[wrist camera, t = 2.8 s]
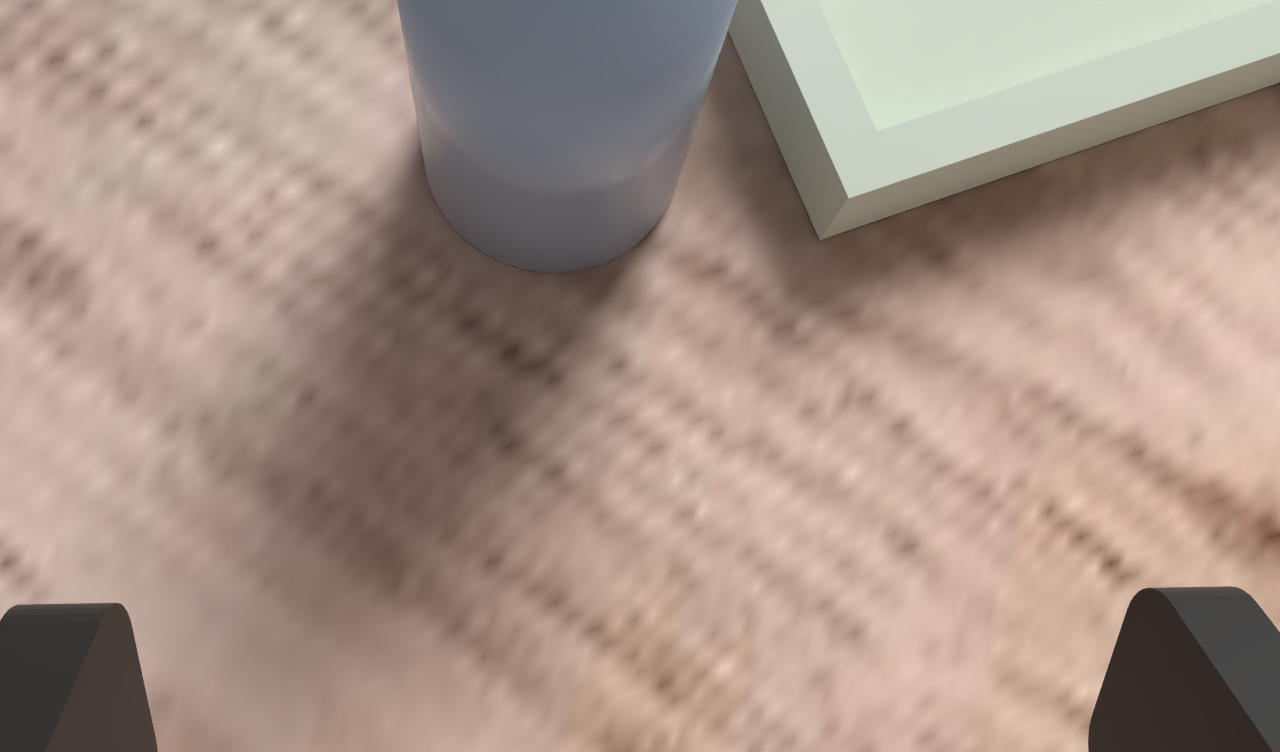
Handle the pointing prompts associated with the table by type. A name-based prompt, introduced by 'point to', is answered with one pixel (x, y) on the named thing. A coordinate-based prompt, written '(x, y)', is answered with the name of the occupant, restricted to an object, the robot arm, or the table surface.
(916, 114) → the sage tray
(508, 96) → the dome-topped blue cylinder
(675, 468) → the table surface
